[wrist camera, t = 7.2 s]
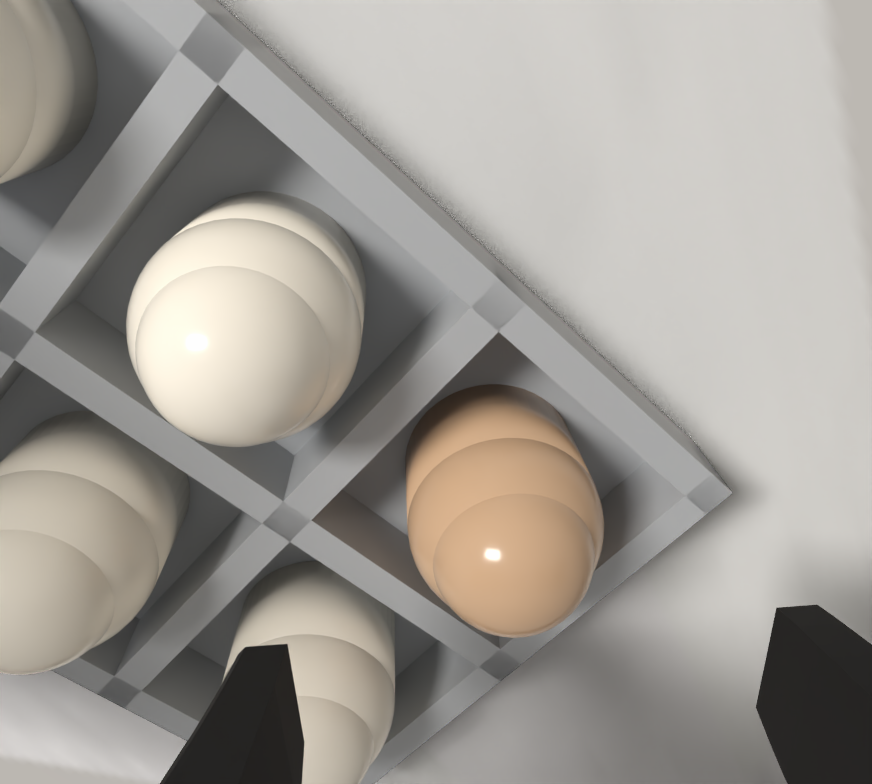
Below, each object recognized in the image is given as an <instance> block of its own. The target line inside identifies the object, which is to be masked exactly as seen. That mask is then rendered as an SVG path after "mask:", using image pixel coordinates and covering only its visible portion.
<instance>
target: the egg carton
mask: <svg viewBox="0 0 872 784" xmlns="http://www.w3.org/2000/svg"><path fill="white" fill-rule="evenodd" d="M70 1H71V2H72V4H73V5H74V7H75V8H76V10H77V12H78V14H79V16H80V18H81V20H82V21H83V23H84V26H85V28H86V31H87V33H88V35H89V38H90V41H91V44H92V48H93V51H94V55H95V61H96V67H97V80H98V89H97V100H96V105H95V109H94V114H93V117H92V119H91V122H90V124H89V127H88V129H87V131H86V132H85V134H84V136H83V137H82V139H81V140H80V142H79V143H78V144H77V145H76V147H75V148H74V149H73V150H72V151H71V152H70V153H69V154H67V155H66V156H65V157H64V158H63V159H61V160H59V161H58V162H56V163H55V164H53V165H51V166H49V167H46V168H44V169H42V170H39V171H36V172H33V173H30V174H27V175H25V176H22V177H19V178H16V179H13V180H10V181H7V182H4V183H1V184H0V462H1V461H2V460H3V459H4V458H5V457H6V456H7V455H8V454H9V453H10V452H11V451H12V450H13V449H14V447H15V446H16V445H17V444H18V443H19V442H20V441H21V440H22V439H23V438H24V437H25V436H26V435H27V434H28V433H29V432H30V431H31V430H32V429H33V428H34V427H36V426H37V425H38V424H40V423H42V422H43V421H45V420H47V419H49V418H51V417H54V416H57V415H60V414H64V413H68V412H74V411H93V412H94V413H96V414H97V415H99V416H100V417H102V418H103V419H105V420H106V421H108V422H109V423H111V424H112V425H114V426H115V427H117V428H118V429H120V430H121V431H123V432H124V433H126V434H127V435H129V436H130V437H132V438H133V439H135V440H136V441H138V442H139V443H141V444H142V445H144V446H145V447H147V448H148V449H150V450H151V451H153V452H155V453H156V454H158V455H159V456H161V457H162V458H164V459H165V460H167V461H168V462H170V463H171V464H173V465H174V466H176V467H177V468H179V469H180V470H182V471H183V472H185V473H186V474H187V477H188V481H189V487H190V503H189V508H188V511H187V514H186V517H185V519H184V522H183V524H182V526H181V528H180V531H179V533H178V535H177V537H176V540H175V542H174V544H173V546H172V548H171V551H170V553H169V555H168V557H167V560H166V562H165V564H164V566H163V569H162V571H161V573H160V575H159V578H158V580H157V582H156V584H155V587H154V589H153V590H152V592H151V594H150V596H149V598H148V599H147V601H146V603H145V605H144V606H143V607H142V608H141V610H140V611H139V612H138V613H137V615H136V616H135V617H134V618H133V620H132V621H131V622H129V623H128V624H127V625H126V626H125V627H124V628H123V629H122V630H120V631H119V632H118V633H117V634H115V635H114V636H113V637H111V638H110V639H108V640H106V641H105V642H103V643H101V644H100V645H98V646H96V647H94V648H92V649H89V650H88V651H87V652H86V653H84V654H83V655H81V656H80V657H78V658H77V659H75V660H73V661H72V662H69V663H67V664H65V665H63V666H61V667H58V668H55V669H52V671H54V672H56V673H58V674H60V675H61V676H63V677H65V678H67V679H69V680H71V681H73V682H75V683H77V684H79V685H81V686H83V687H85V688H86V689H88V690H90V691H92V692H94V693H96V694H98V695H100V696H102V697H104V698H106V699H108V700H109V701H111V702H113V703H115V704H117V705H119V706H121V707H123V708H125V709H127V710H129V711H131V712H133V713H134V714H136V715H138V716H140V717H142V718H144V719H146V720H148V721H150V722H152V723H154V724H156V725H157V726H159V727H161V728H163V729H165V730H167V731H169V732H171V733H173V734H175V735H177V736H179V737H181V738H182V739H184V740H186V741H188V739H189V738H190V736H191V735H192V733H193V732H194V730H195V728H196V727H197V725H198V723H199V722H200V720H201V718H202V717H203V715H204V713H205V712H206V710H207V709H208V707H209V705H210V703H211V702H212V700H213V698H214V697H215V695H216V693H217V691H218V690H219V688H220V686H221V684H222V681H223V678H224V674H225V670H226V667H227V663H228V659H229V656H230V652H231V648H232V645H233V641H234V637H235V634H236V630H237V626H238V623H239V619H240V615H241V612H242V608H243V604H244V602H245V600H246V597H247V596H248V594H249V592H250V591H251V589H252V588H253V587H254V586H255V585H256V584H257V583H258V582H259V581H260V580H261V579H262V578H263V577H265V576H266V575H268V574H270V573H271V572H273V571H275V570H277V569H279V568H282V567H284V566H287V565H290V564H295V563H299V562H307V561H319V562H321V563H322V564H324V565H325V566H327V567H328V568H330V569H331V570H333V571H335V572H336V573H338V574H339V575H341V576H342V577H344V578H345V579H347V580H348V581H350V582H351V583H353V584H354V585H356V586H357V587H359V588H360V589H362V590H363V591H365V592H366V593H368V594H369V595H371V596H372V597H374V598H375V599H377V600H378V601H380V602H381V603H383V604H384V605H386V606H387V607H389V608H390V609H392V610H393V611H394V615H395V708H394V715H393V720H392V725H391V729H390V731H389V734H388V737H387V739H386V741H385V744H384V746H383V747H382V749H381V751H380V753H379V754H378V756H377V757H376V759H375V760H374V761H373V763H372V764H371V765H370V766H369V768H368V770H367V773H366V774H365V776H364V778H363V779H362V781H361V783H360V784H374V783H375V782H377V781H378V780H379V779H380V778H382V777H383V776H384V775H385V774H387V773H388V772H389V771H390V770H392V769H393V768H394V767H395V766H396V765H398V764H399V763H400V762H401V761H403V760H404V759H405V758H406V757H408V756H409V755H410V754H411V753H413V752H414V751H415V750H416V749H417V748H419V747H420V746H421V745H422V744H424V743H425V742H426V741H427V740H429V739H430V738H431V737H432V736H434V735H435V734H436V733H437V732H438V731H440V730H441V729H442V728H443V727H445V726H446V725H447V724H448V723H450V722H451V721H452V720H453V719H454V718H456V717H457V716H458V715H459V714H461V713H462V712H463V711H464V710H466V709H467V708H468V707H469V706H471V705H472V704H473V703H474V702H475V701H477V700H478V699H479V698H480V697H482V696H483V695H484V694H485V693H487V692H488V691H489V690H490V689H492V688H493V687H494V686H495V685H496V684H498V683H499V682H500V681H501V680H503V679H504V678H505V677H506V676H508V675H509V674H510V673H511V672H513V671H514V670H515V669H516V668H517V667H519V666H520V665H521V664H522V663H524V662H525V661H526V660H527V659H529V658H530V657H531V656H532V655H533V654H535V653H536V652H537V651H538V650H540V649H541V648H542V647H543V646H545V645H546V644H547V643H548V642H550V641H551V640H552V639H553V638H554V637H556V636H557V635H558V634H559V633H561V632H562V631H563V630H564V629H566V628H567V627H568V626H569V625H571V624H572V623H573V622H574V621H575V620H577V619H578V618H579V617H580V616H582V615H583V614H584V613H585V612H587V611H588V610H589V609H590V608H592V607H593V606H594V605H595V604H596V603H598V602H599V601H600V600H601V599H603V598H604V597H605V596H606V595H608V594H609V593H610V592H611V591H612V590H614V589H615V588H616V587H617V586H619V585H620V584H621V583H622V582H624V581H625V580H626V579H627V578H629V577H630V576H631V575H632V574H633V573H635V572H636V571H637V570H638V569H640V568H641V567H642V566H643V565H645V564H646V563H647V562H648V561H650V560H651V559H652V558H653V557H654V556H656V555H657V554H658V553H659V552H661V551H662V550H663V549H664V548H666V547H667V546H668V545H669V544H671V543H672V542H673V541H674V540H675V539H677V538H678V537H679V536H680V535H682V534H683V533H684V532H685V531H687V530H688V529H689V528H690V527H692V526H693V525H694V524H695V523H696V522H698V521H699V520H700V519H701V518H703V517H704V516H705V515H706V514H708V513H709V512H710V511H711V510H712V509H714V508H715V507H716V506H717V505H719V504H720V503H721V502H722V501H724V500H725V499H726V498H727V497H729V496H730V495H731V494H732V493H733V492H732V491H731V490H730V489H729V487H728V486H727V485H726V483H725V482H724V481H723V479H722V478H721V477H720V475H719V474H718V473H717V471H716V470H715V469H714V468H713V466H712V465H711V464H710V462H709V461H708V460H707V458H706V457H705V456H704V454H703V453H702V452H701V450H700V449H699V448H698V447H697V445H696V444H695V443H694V441H693V440H692V439H691V438H690V437H688V436H687V435H686V434H685V433H684V432H683V431H682V430H681V429H680V428H679V427H678V426H677V425H676V424H674V423H673V422H672V421H671V420H670V419H669V418H668V417H667V416H666V415H665V414H664V413H663V412H661V411H660V410H659V409H658V408H657V407H656V406H655V405H654V404H653V403H652V402H651V401H650V400H648V399H647V398H646V397H645V396H644V395H643V394H642V393H641V392H640V391H639V390H638V389H637V388H636V387H634V386H633V385H632V384H631V383H630V382H629V381H628V380H627V379H626V378H625V377H624V376H623V375H621V374H620V373H619V372H618V371H617V370H616V369H615V368H614V367H613V366H612V365H611V364H610V363H608V362H607V361H606V360H605V359H604V358H603V357H602V356H601V355H600V354H599V353H598V352H597V351H596V350H594V349H593V348H592V347H591V346H590V345H589V344H588V343H587V342H586V341H585V340H584V339H583V338H581V337H580V336H579V335H578V334H577V333H576V332H575V331H574V330H573V329H572V328H571V327H570V326H568V325H567V324H566V323H565V322H564V321H563V320H562V319H561V318H560V317H559V316H558V315H557V314H556V313H554V312H553V311H552V310H551V309H550V308H549V307H548V306H547V305H546V304H545V303H544V302H543V301H541V300H540V299H539V298H538V297H537V296H536V295H535V294H534V293H533V292H532V291H531V290H530V289H528V288H527V287H526V286H525V285H524V284H523V283H522V282H521V281H520V280H519V279H518V278H517V277H516V276H514V275H513V274H512V273H511V272H510V271H509V270H508V269H507V268H506V267H505V266H504V265H503V264H501V263H500V262H499V261H498V260H497V259H496V258H495V257H494V256H493V255H492V254H491V253H490V252H488V251H487V250H486V249H485V248H484V247H483V246H482V245H481V244H480V243H479V242H478V241H477V240H475V239H474V238H473V237H472V236H471V235H470V234H469V233H468V232H467V231H466V230H465V229H464V228H463V227H461V226H460V225H459V224H458V223H457V222H456V221H455V220H454V219H453V218H452V217H451V216H450V215H448V214H447V213H446V212H445V211H444V210H443V209H442V208H441V207H440V206H439V205H438V204H437V203H435V202H434V201H433V200H432V199H431V198H430V197H429V196H428V195H427V194H426V193H425V192H424V191H423V190H421V189H420V188H419V187H418V186H417V185H416V184H415V183H414V182H413V181H412V180H411V179H410V178H408V177H407V176H406V175H405V174H404V173H403V172H402V171H401V170H400V169H399V168H398V167H397V166H395V165H394V164H393V163H392V162H391V161H390V160H389V159H388V158H387V157H386V156H385V155H384V154H383V153H381V152H380V151H379V150H378V149H377V148H376V147H375V146H374V145H373V144H372V143H371V142H370V141H368V140H367V139H366V138H365V137H364V136H363V135H362V134H361V133H360V132H359V131H358V130H357V129H355V128H354V127H353V126H352V125H351V124H350V123H349V122H348V121H347V120H346V119H345V118H344V117H343V116H341V115H340V114H339V113H338V112H337V111H336V110H335V109H334V108H333V107H332V106H331V105H330V104H328V103H327V102H326V101H325V100H324V99H323V98H322V97H321V96H320V95H319V94H318V93H317V92H315V91H314V90H313V89H312V88H311V87H310V86H309V85H308V84H307V83H306V82H305V81H304V80H303V79H301V78H300V77H299V76H298V75H297V74H296V73H295V72H294V71H293V70H292V69H291V68H290V67H288V66H287V65H286V64H285V63H284V62H283V61H282V60H281V59H280V58H279V57H278V56H277V55H275V54H274V53H273V52H272V51H271V50H270V49H269V48H268V47H267V46H266V45H265V44H264V43H263V42H261V41H260V40H259V39H258V38H257V37H256V36H255V35H254V34H253V33H252V32H251V31H250V30H248V29H247V28H246V27H245V26H244V25H243V24H242V23H241V22H240V21H239V20H238V19H237V18H235V17H234V16H233V15H232V14H231V13H230V12H229V11H228V10H227V9H226V8H225V7H224V6H223V5H221V4H220V3H219V2H218V1H217V0H70ZM255 191H267V192H276V193H283V194H287V195H290V196H294V197H297V198H299V199H302V200H304V201H306V202H309V203H311V204H312V205H314V206H316V207H317V208H319V209H321V210H322V211H323V212H325V213H326V214H327V215H329V216H330V217H331V218H332V219H333V220H334V221H335V222H336V223H338V224H339V225H340V226H341V228H342V229H343V230H344V231H345V233H346V234H347V235H348V236H349V238H350V239H351V241H352V243H353V244H354V246H355V248H356V250H357V252H358V254H359V257H360V259H361V262H362V265H363V269H364V272H365V279H366V304H365V313H364V322H363V331H362V340H361V348H360V354H359V358H358V362H357V365H356V369H355V372H354V374H353V376H352V379H351V381H350V383H349V385H348V386H347V388H346V390H345V391H344V393H343V394H342V396H341V397H340V399H339V400H338V401H337V402H336V404H335V405H334V406H333V407H332V408H331V409H330V410H329V411H328V412H327V413H326V414H325V415H324V416H323V417H322V418H320V419H319V420H318V421H316V422H315V423H313V424H312V425H310V426H309V427H308V428H306V429H304V430H302V431H300V432H298V433H296V434H294V435H292V436H289V437H286V438H284V439H280V440H276V441H272V442H267V443H262V444H258V445H254V446H246V447H226V446H218V445H214V444H209V443H206V442H203V441H200V440H197V439H195V438H193V437H191V436H189V435H187V434H185V433H183V432H182V431H180V430H178V429H177V428H176V427H174V426H173V425H172V424H171V423H169V422H168V421H167V420H166V419H165V418H164V417H163V416H162V415H161V414H160V413H159V412H158V410H157V409H156V408H155V407H154V406H153V404H152V402H151V401H150V399H149V398H148V396H147V394H146V392H145V390H144V388H143V386H142V384H141V382H140V380H139V378H138V376H137V374H136V372H135V370H134V368H133V365H132V361H131V358H130V355H129V350H128V344H127V328H126V319H127V311H128V305H129V302H130V298H131V295H132V291H133V288H134V286H135V284H136V282H137V279H138V277H139V275H140V273H141V272H142V270H143V269H144V267H145V266H146V264H147V263H148V261H149V260H150V259H151V258H152V257H153V255H154V254H155V253H156V252H157V251H158V250H159V249H160V248H161V247H162V246H163V245H164V244H165V243H166V242H168V241H169V240H170V239H171V238H172V237H173V236H175V235H176V234H177V233H178V232H179V231H181V230H182V229H183V228H184V227H185V226H186V225H188V224H189V223H190V222H191V221H192V220H193V219H195V218H196V217H197V216H198V215H199V214H201V213H202V212H203V211H204V210H206V209H207V208H208V207H210V206H211V205H213V204H215V203H216V202H218V201H220V200H223V199H225V198H227V197H230V196H233V195H237V194H241V193H247V192H255ZM487 384H502V385H510V386H515V387H519V388H523V389H525V390H528V391H530V392H533V393H535V394H536V395H538V396H540V397H542V398H543V399H544V400H546V401H547V402H548V403H550V404H551V405H552V406H553V407H554V408H555V409H556V410H557V411H558V412H559V414H560V415H561V417H562V418H563V419H564V421H565V423H566V425H567V427H568V429H569V431H570V433H571V435H572V437H573V439H574V442H575V444H576V446H577V448H578V450H579V452H580V454H581V456H582V458H583V461H584V463H585V465H586V467H587V469H588V471H589V473H590V475H591V477H592V480H593V482H594V484H595V486H596V489H597V492H598V494H599V497H600V500H601V503H602V509H603V516H604V539H603V546H602V551H601V554H600V558H599V561H598V563H597V566H596V568H595V570H594V573H593V576H592V579H591V582H590V585H589V588H588V590H587V592H586V594H585V596H584V598H583V599H582V601H581V603H580V604H579V605H578V607H577V608H576V609H575V611H574V612H573V613H572V614H571V615H570V616H569V617H568V618H566V619H565V620H564V621H563V622H561V623H560V624H558V625H557V626H555V627H554V628H552V629H550V630H548V631H546V632H543V633H540V634H537V635H534V636H529V637H522V638H508V637H501V636H495V635H491V634H488V633H485V632H483V631H481V630H478V629H477V628H475V627H473V626H471V625H470V624H468V623H466V622H465V621H464V620H463V619H461V618H460V617H459V616H458V615H457V614H456V613H455V612H454V611H453V610H452V609H451V608H450V607H449V606H448V605H447V604H446V603H444V602H443V601H442V600H441V599H440V598H439V597H438V596H437V595H436V594H435V593H434V592H433V591H432V590H431V589H430V587H429V586H428V584H427V583H426V582H425V580H424V579H423V577H422V576H421V574H420V572H419V570H418V568H417V566H416V564H415V561H414V558H413V555H412V552H411V549H410V544H409V537H408V530H407V504H406V475H405V455H406V449H407V445H408V442H409V439H410V436H411V434H412V432H413V430H414V428H415V426H416V425H417V423H418V422H419V420H420V419H421V418H422V417H423V416H424V414H425V413H426V412H427V411H428V410H429V409H430V408H432V407H433V406H434V405H435V404H436V403H438V402H439V401H441V400H442V399H444V398H445V397H447V396H449V395H451V394H453V393H455V392H457V391H460V390H463V389H466V388H470V387H474V386H478V385H487Z"/></svg>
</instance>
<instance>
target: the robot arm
mask: <svg viewBox="0 0 872 784" xmlns="http://www.w3.org/2000/svg"><path fill="white" fill-rule="evenodd" d="M756 708H757V711H758V714H759V716H760V719H761V721H762V724H763V726H764V729H765V731H766V734H767V736H768V739H769V741H770V744H771V746H772V749H773V751H774V754H775V756H776V758H777V761H778V763H779V765H780V768H781V770H782V772H783V775H784V777H785V779H786V781H787V783H788V784H872V645H871V644H870V643H869V642H867V641H866V640H865V639H863V638H862V637H861V636H859V635H858V634H857V633H855V632H854V631H853V630H851V629H850V628H849V627H847V626H846V625H845V624H843V623H842V622H841V621H839V620H838V619H836V618H835V617H834V616H832V615H831V614H829V613H828V612H827V611H825V610H824V609H822V608H821V607H820V606H818V605H808V606H795V607H781V608H776V613H775V618H774V623H773V628H772V633H771V637H770V642H769V647H768V652H767V657H766V662H765V666H764V671H763V676H762V681H761V686H760V691H759V695H758V700H757V705H756ZM303 758H304V737H303V731H302V725H301V719H300V714H299V708H298V702H297V696H296V690H295V685H294V679H293V673H292V667H291V661H290V656H289V650H288V644H277V645H264V646H250V647H245V648H244V649H243V650H242V651H241V652H240V653H239V654H238V655H237V657H236V659H235V661H234V663H233V665H232V667H231V668H230V670H229V672H228V674H227V676H226V677H225V679H224V681H223V683H222V684H221V686H220V688H219V690H218V691H217V693H216V695H215V697H214V698H213V700H212V702H211V703H210V705H209V707H208V709H207V710H206V712H205V713H204V715H203V717H202V718H201V720H200V722H199V723H198V725H197V727H196V728H195V730H194V732H193V733H192V735H191V736H190V738H189V739H188V741H187V743H186V744H185V746H184V747H183V749H182V750H181V752H180V753H179V755H178V756H177V758H176V760H175V761H174V763H173V764H172V766H171V767H170V769H169V770H168V772H167V774H166V775H165V777H164V778H163V780H162V781H161V783H160V784H302V773H303Z"/></svg>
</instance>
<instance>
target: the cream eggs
mask: <svg viewBox="0 0 872 784" xmlns="http://www.w3.org/2000/svg"><path fill="white" fill-rule="evenodd" d="M97 89H98V80H97V67H96V61H95V55H94V51H93V48H92V44H91V41H90V38H89V35H88V33H87V31H86V28H85V26H84V23H83V21H82V20H81V18H80V16H79V14H78V12H77V10H76V8H75V7H74V5H73V4H72V2H71V1H70V0H0V184H1V183H4V182H7V181H10V180H13V179H16V178H19V177H22V176H25V175H27V174H30V173H33V172H36V171H39V170H42V169H44V168H46V167H49V166H51V165H53V164H55V163H56V162H58V161H59V160H61V159H63V158H64V157H65V156H66V155H67V154H69V153H70V152H71V151H72V150H73V149H74V148H75V147H76V145H77V144H78V143H79V142H80V140H81V139H82V137H83V136H84V134H85V132H86V131H87V129H88V127H89V124H90V122H91V119H92V117H93V114H94V109H95V105H96V100H97ZM365 304H366V279H365V272H364V269H363V265H362V262H361V259H360V257H359V254H358V252H357V250H356V248H355V246H354V244H353V243H352V241H351V239H350V238H349V236H348V235H347V234H346V233H345V231H344V230H343V229H342V228H341V226H340V225H339V224H338V223H336V222H335V221H334V220H333V219H332V218H331V217H330V216H329V215H327V214H326V213H325V212H323V211H322V210H321V209H319V208H317V207H316V206H314V205H312V204H311V203H309V202H306V201H304V200H302V199H299V198H297V197H294V196H290V195H287V194H283V193H276V192H267V191H255V192H247V193H241V194H237V195H233V196H230V197H227V198H225V199H223V200H220V201H218V202H216V203H215V204H213V205H211V206H210V207H208V208H207V209H206V210H204V211H203V212H202V213H201V214H199V215H198V216H197V217H196V218H195V219H193V220H192V221H191V222H190V223H189V224H188V225H186V226H185V227H184V228H183V229H182V230H181V231H179V232H178V233H177V234H176V235H175V236H173V237H172V238H171V239H170V240H169V241H168V242H166V243H165V244H164V245H163V246H162V247H161V248H160V249H159V250H158V251H157V252H156V253H155V254H154V255H153V257H152V258H151V259H150V260H149V261H148V263H147V264H146V266H145V267H144V269H143V270H142V272H141V273H140V275H139V277H138V279H137V282H136V284H135V286H134V288H133V291H132V295H131V298H130V302H129V305H128V311H127V319H126V328H127V344H128V350H129V355H130V358H131V361H132V365H133V368H134V370H135V372H136V374H137V376H138V378H139V380H140V382H141V384H142V386H143V388H144V390H145V392H146V394H147V396H148V398H149V399H150V401H151V402H152V404H153V406H154V407H155V408H156V409H157V410H158V412H159V413H160V414H161V415H162V416H163V417H164V418H165V419H166V420H167V421H168V422H169V423H171V424H172V425H173V426H174V427H176V428H177V429H178V430H180V431H182V432H183V433H185V434H187V435H189V436H191V437H193V438H195V439H197V440H200V441H203V442H206V443H209V444H214V445H218V446H226V447H246V446H254V445H258V444H262V443H267V442H272V441H276V440H280V439H284V438H286V437H289V436H292V435H294V434H296V433H298V432H300V431H302V430H304V429H306V428H308V427H309V426H310V425H312V424H313V423H315V422H316V421H318V420H319V419H320V418H322V417H323V416H324V415H325V414H326V413H327V412H328V411H329V410H330V409H331V408H332V407H333V406H334V405H335V404H336V402H337V401H338V400H339V399H340V397H341V396H342V394H343V393H344V391H345V390H346V388H347V386H348V385H349V383H350V381H351V379H352V376H353V374H354V372H355V369H356V365H357V362H358V358H359V354H360V348H361V340H362V331H363V322H364V313H365ZM189 503H190V487H189V481H188V477H187V474H186V473H185V472H183V471H182V470H180V469H179V468H177V467H176V466H174V465H173V464H171V463H170V462H168V461H167V460H165V459H164V458H162V457H161V456H159V455H158V454H156V453H155V452H153V451H151V450H150V449H148V448H147V447H145V446H144V445H142V444H141V443H139V442H138V441H136V440H135V439H133V438H132V437H130V436H129V435H127V434H126V433H124V432H123V431H121V430H120V429H118V428H117V427H115V426H114V425H112V424H111V423H109V422H108V421H106V420H105V419H103V418H102V417H100V416H99V415H97V414H96V413H94V412H93V411H74V412H68V413H64V414H60V415H57V416H54V417H51V418H49V419H47V420H45V421H43V422H42V423H40V424H38V425H37V426H36V427H34V428H33V429H32V430H31V431H30V432H29V433H28V434H27V435H26V436H25V437H24V438H23V439H22V440H21V441H20V442H19V443H18V444H17V445H16V446H15V447H14V449H13V450H12V451H11V452H10V453H9V454H8V455H7V456H6V457H5V458H4V459H3V460H2V461H1V462H0V673H4V674H14V675H27V674H35V673H41V672H45V671H50V670H52V669H55V668H58V667H61V666H63V665H65V664H67V663H69V662H72V661H73V660H75V659H77V658H78V657H80V656H81V655H83V654H84V653H86V652H87V651H88V650H89V649H92V648H94V647H96V646H98V645H100V644H101V643H103V642H105V641H106V640H108V639H110V638H111V637H113V636H114V635H115V634H117V633H118V632H119V631H120V630H122V629H123V628H124V627H125V626H126V625H127V624H128V623H129V622H131V621H132V620H133V618H134V617H135V616H136V615H137V613H138V612H139V611H140V610H141V608H142V607H143V606H144V605H145V603H146V601H147V599H148V598H149V596H150V594H151V592H152V590H153V589H154V587H155V584H156V582H157V580H158V578H159V575H160V573H161V571H162V569H163V566H164V564H165V562H166V560H167V557H168V555H169V553H170V551H171V548H172V546H173V544H174V542H175V540H176V537H177V535H178V533H179V531H180V528H181V526H182V524H183V522H184V519H185V517H186V514H187V511H188V508H189ZM277 644H288V650H289V656H290V661H291V667H292V673H293V679H294V685H295V690H296V696H297V702H298V708H299V714H300V719H301V725H302V731H303V737H304V758H303V773H302V784H360V783H361V781H362V779H363V778H364V776H365V774H366V773H367V770H368V768H369V766H370V765H371V764H372V763H373V761H374V760H375V759H376V757H377V756H378V754H379V753H380V751H381V749H382V747H383V746H384V744H385V741H386V739H387V737H388V734H389V731H390V729H391V725H392V720H393V715H394V708H395V615H394V611H393V610H392V609H390V608H389V607H387V606H386V605H384V604H383V603H381V602H380V601H378V600H377V599H375V598H374V597H372V596H371V595H369V594H368V593H366V592H365V591H363V590H362V589H360V588H359V587H357V586H356V585H354V584H353V583H351V582H350V581H348V580H347V579H345V578H344V577H342V576H341V575H339V574H338V573H336V572H335V571H333V570H331V569H330V568H328V567H327V566H325V565H324V564H322V563H321V562H319V561H307V562H299V563H295V564H290V565H287V566H284V567H282V568H279V569H277V570H275V571H273V572H271V573H270V574H268V575H266V576H265V577H263V578H262V579H261V580H260V581H259V582H258V583H257V584H256V585H255V586H254V587H253V588H252V589H251V591H250V592H249V594H248V596H247V597H246V600H245V602H244V604H243V608H242V612H241V615H240V619H239V623H238V626H237V630H236V634H235V637H234V641H233V645H232V648H231V652H230V656H229V659H228V663H227V667H226V670H225V674H224V678H223V681H224V679H225V677H226V676H227V674H228V672H229V670H230V668H231V667H232V665H233V663H234V661H235V659H236V657H237V655H238V654H239V653H240V652H241V651H242V650H243V649H244V648H245V647H250V646H264V645H277ZM223 681H222V683H223Z"/></svg>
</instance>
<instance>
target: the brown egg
mask: <svg viewBox="0 0 872 784" xmlns="http://www.w3.org/2000/svg"><path fill="white" fill-rule="evenodd" d="M405 475H406V504H407V530H408V537H409V544H410V549H411V552H412V555H413V558H414V561H415V564H416V566H417V568H418V570H419V572H420V574H421V576H422V577H423V579H424V580H425V582H426V583H427V584H428V586H429V587H430V589H431V590H432V591H433V592H434V593H435V594H436V595H437V596H438V597H439V598H440V599H441V600H442V601H443V602H444V603H446V604H447V605H448V606H449V607H450V608H451V609H452V610H453V611H454V612H455V613H456V614H457V615H458V616H459V617H460V618H461V619H463V620H464V621H465V622H466V623H468V624H470V625H471V626H473V627H475V628H477V629H478V630H481V631H483V632H485V633H488V634H491V635H495V636H501V637H508V638H522V637H529V636H534V635H537V634H540V633H543V632H546V631H548V630H550V629H552V628H554V627H555V626H557V625H558V624H560V623H561V622H563V621H564V620H565V619H566V618H568V617H569V616H570V615H571V614H572V613H573V612H574V611H575V609H576V608H577V607H578V605H579V604H580V603H581V601H582V599H583V598H584V596H585V594H586V592H587V590H588V588H589V585H590V582H591V579H592V576H593V573H594V570H595V568H596V566H597V563H598V561H599V558H600V554H601V551H602V546H603V539H604V516H603V509H602V503H601V500H600V497H599V494H598V492H597V489H596V486H595V484H594V482H593V480H592V477H591V475H590V473H589V471H588V469H587V467H586V465H585V463H584V461H583V458H582V456H581V454H580V452H579V450H578V448H577V446H576V444H575V442H574V439H573V437H572V435H571V433H570V431H569V429H568V427H567V425H566V423H565V421H564V419H563V418H562V417H561V415H560V414H559V412H558V411H557V410H556V409H555V408H554V407H553V406H552V405H551V404H550V403H548V402H547V401H546V400H544V399H543V398H542V397H540V396H538V395H536V394H535V393H533V392H530V391H528V390H525V389H523V388H519V387H515V386H510V385H502V384H487V385H478V386H474V387H470V388H466V389H463V390H460V391H457V392H455V393H453V394H451V395H449V396H447V397H445V398H444V399H442V400H441V401H439V402H438V403H436V404H435V405H434V406H433V407H432V408H430V409H429V410H428V411H427V412H426V413H425V414H424V416H423V417H422V418H421V419H420V420H419V422H418V423H417V425H416V426H415V428H414V430H413V432H412V434H411V436H410V439H409V442H408V445H407V449H406V455H405Z"/></svg>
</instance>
